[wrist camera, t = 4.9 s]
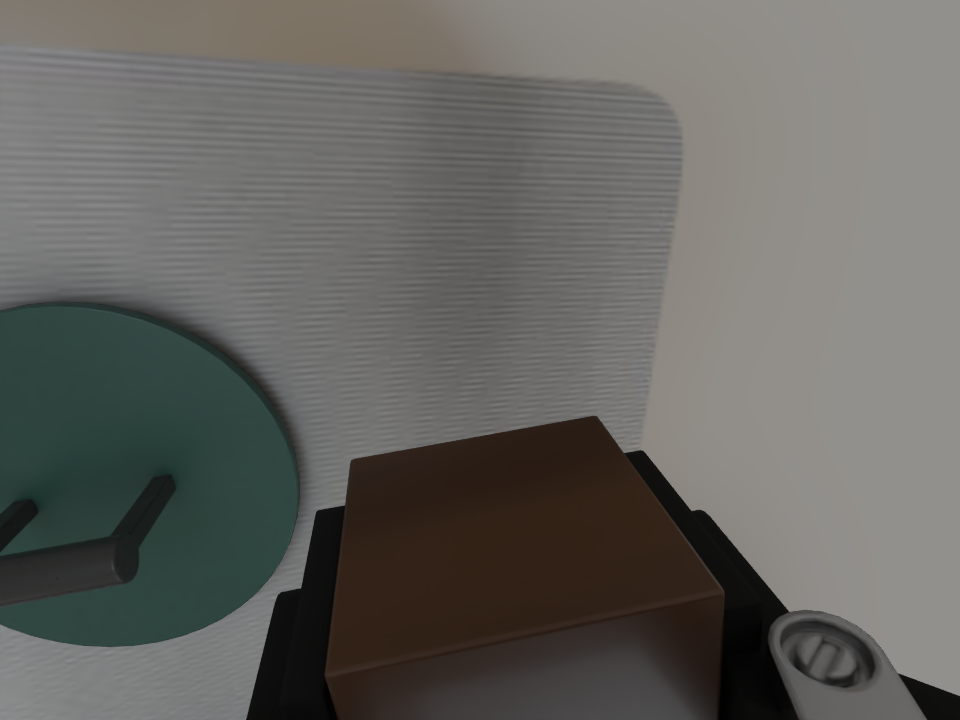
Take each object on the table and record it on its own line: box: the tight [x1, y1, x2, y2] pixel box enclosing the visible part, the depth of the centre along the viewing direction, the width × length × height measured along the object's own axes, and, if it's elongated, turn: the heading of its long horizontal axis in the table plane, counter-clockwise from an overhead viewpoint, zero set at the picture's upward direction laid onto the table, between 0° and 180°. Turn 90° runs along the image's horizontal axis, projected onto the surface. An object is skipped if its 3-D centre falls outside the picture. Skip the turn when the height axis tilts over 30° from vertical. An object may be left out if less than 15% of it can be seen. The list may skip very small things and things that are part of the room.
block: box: [324, 416, 725, 720], centre depth 9 cm, size 4×4×4 cm
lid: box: [0, 302, 300, 647], centre depth 20 cm, size 15×15×6 cm
